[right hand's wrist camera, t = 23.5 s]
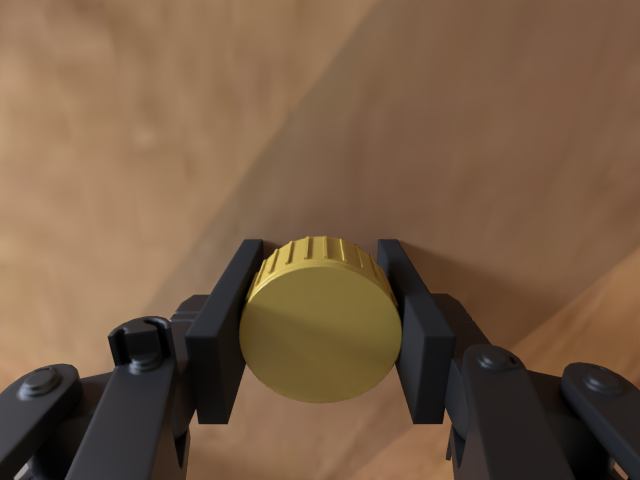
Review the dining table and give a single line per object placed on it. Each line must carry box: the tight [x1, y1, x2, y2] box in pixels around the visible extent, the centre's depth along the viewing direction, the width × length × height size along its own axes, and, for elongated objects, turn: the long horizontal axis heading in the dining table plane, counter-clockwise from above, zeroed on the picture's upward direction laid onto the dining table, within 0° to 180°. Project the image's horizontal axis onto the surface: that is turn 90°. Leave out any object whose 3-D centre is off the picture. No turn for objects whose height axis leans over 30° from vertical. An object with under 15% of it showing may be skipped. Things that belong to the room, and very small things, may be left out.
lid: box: [239, 236, 402, 403], centre depth 11 cm, size 5×5×2 cm
